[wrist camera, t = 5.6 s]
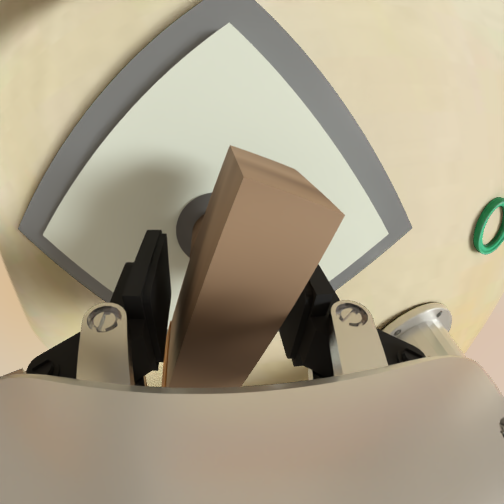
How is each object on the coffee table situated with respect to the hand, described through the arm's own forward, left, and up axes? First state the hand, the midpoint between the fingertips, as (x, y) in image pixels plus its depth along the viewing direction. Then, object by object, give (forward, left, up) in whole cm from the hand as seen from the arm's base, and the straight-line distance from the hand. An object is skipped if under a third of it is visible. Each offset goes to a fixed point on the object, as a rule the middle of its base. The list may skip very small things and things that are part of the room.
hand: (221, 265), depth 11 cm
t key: (0, 0, -3) cm, 3 cm away
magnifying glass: (-20, -23, -6) cm, 31 cm away
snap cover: (0, 0, -6) cm, 6 cm away
